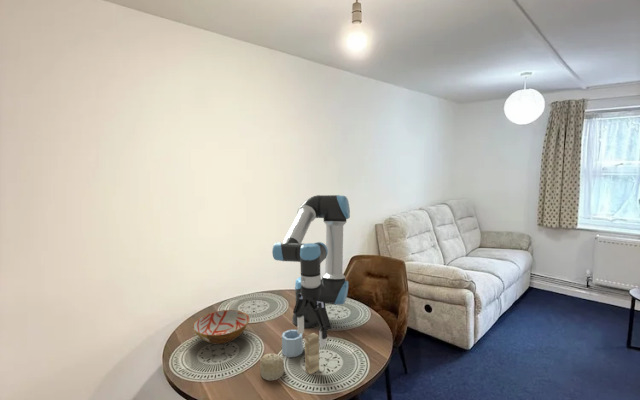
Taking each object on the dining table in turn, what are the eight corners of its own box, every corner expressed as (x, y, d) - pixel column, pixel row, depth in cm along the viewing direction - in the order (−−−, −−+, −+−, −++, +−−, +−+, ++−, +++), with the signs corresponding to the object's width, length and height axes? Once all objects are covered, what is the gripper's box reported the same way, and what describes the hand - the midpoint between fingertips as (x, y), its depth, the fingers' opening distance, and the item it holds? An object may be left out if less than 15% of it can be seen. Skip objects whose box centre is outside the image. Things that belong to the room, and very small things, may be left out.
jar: (278, 350, 141) (277, 334, 140) (295, 343, 147) (294, 327, 146) (290, 359, 134) (289, 342, 134) (307, 351, 140) (306, 335, 139)
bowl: (260, 330, 159) (260, 315, 158) (225, 358, 136) (224, 340, 135) (220, 321, 169) (219, 306, 168) (181, 345, 147) (180, 328, 146)
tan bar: (305, 371, 127) (304, 336, 125) (314, 366, 130) (313, 332, 128) (310, 374, 124) (309, 339, 123) (319, 369, 127) (318, 335, 126)
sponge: (269, 375, 131) (254, 356, 130) (289, 361, 131) (274, 342, 130) (268, 391, 122) (251, 371, 120) (288, 375, 122) (272, 355, 121)
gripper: (283, 279, 131) (285, 330, 132) (324, 296, 112) (325, 356, 113) (299, 275, 136) (299, 324, 137) (340, 291, 116) (341, 348, 118)
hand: (311, 339), depth 125 cm, fingers open, 13 cm apart
